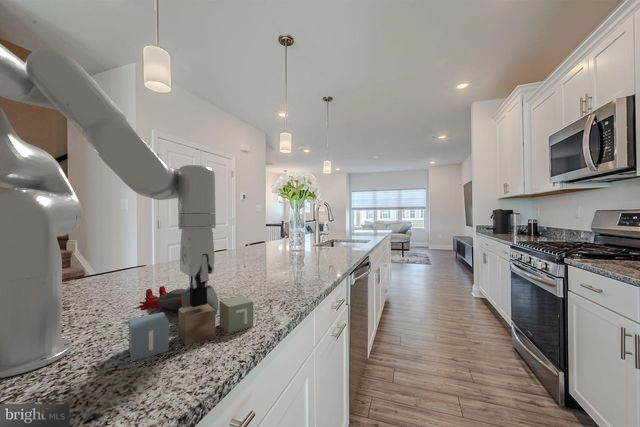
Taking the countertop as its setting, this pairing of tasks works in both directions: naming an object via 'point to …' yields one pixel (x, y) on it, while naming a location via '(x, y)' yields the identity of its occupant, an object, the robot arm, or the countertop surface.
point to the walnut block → (196, 324)
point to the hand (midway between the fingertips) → (198, 304)
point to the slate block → (148, 335)
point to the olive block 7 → (236, 313)
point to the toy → (176, 299)
